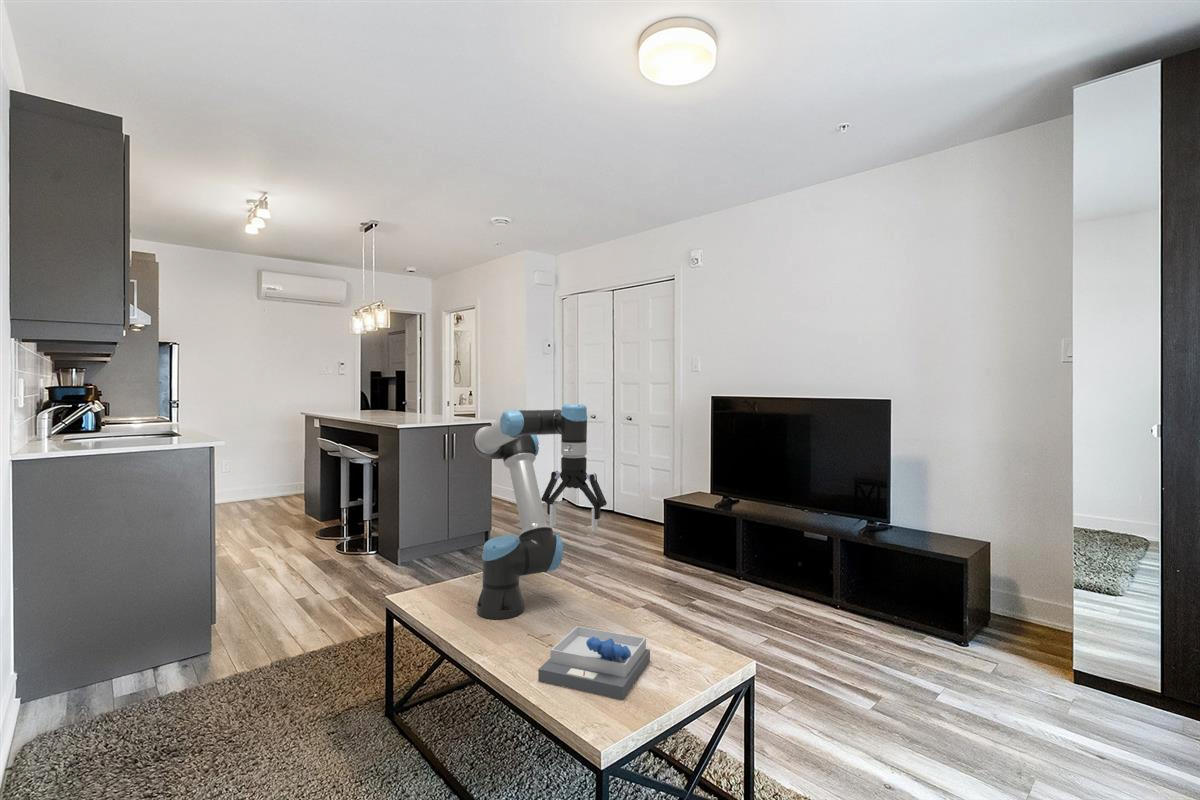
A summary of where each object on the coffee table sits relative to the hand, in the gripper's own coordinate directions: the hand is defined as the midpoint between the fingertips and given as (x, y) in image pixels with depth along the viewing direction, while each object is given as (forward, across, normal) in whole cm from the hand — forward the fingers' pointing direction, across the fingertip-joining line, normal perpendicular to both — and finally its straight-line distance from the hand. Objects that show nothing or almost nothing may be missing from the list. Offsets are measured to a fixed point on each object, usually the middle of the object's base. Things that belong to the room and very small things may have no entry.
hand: (573, 527), depth 170 cm
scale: (+31, +16, -20) cm, 40 cm away
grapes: (+26, +17, -18) cm, 36 cm away
